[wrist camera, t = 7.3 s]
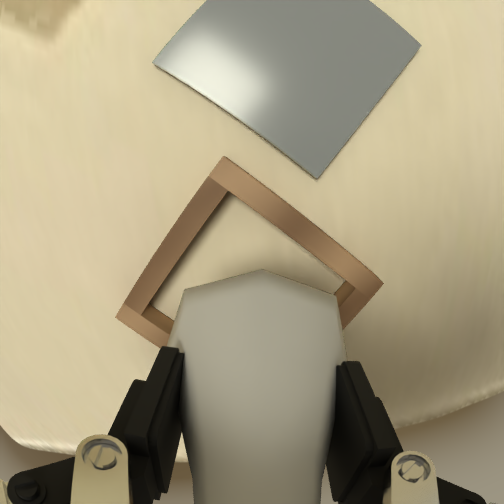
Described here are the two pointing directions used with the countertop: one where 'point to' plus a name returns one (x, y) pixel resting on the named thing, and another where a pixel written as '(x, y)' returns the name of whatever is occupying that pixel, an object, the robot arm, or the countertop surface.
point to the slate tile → (291, 68)
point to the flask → (257, 387)
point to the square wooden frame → (273, 209)
